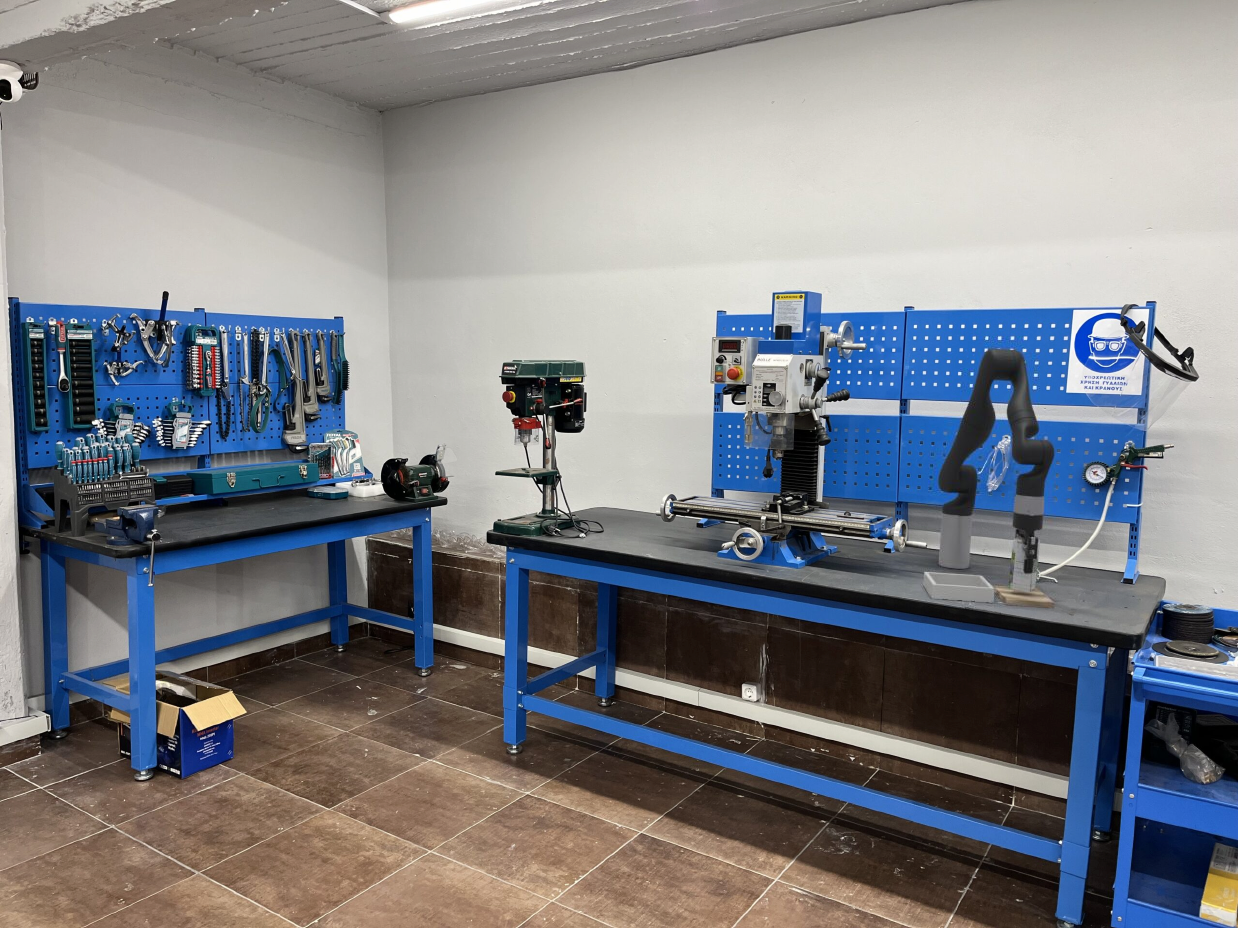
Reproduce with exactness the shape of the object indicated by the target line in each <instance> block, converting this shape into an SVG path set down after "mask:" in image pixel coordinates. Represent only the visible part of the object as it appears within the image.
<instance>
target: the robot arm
mask: <svg viewBox="0 0 1238 928" xmlns="http://www.w3.org/2000/svg"><path fill="white" fill-rule="evenodd" d="M1028 377H1029V376H1028V370H1027V364H1026V360H1025V357H1024V355H1023V353H1022V352H1021V351H1019V350H1016V349H1012V348H1011V349H1009V348H989V349H988V350H986V351H985V352H984V354H983V356H982V357H981V360H980V364H979V368H978V371H977V375H976V378H975V382H974V386H973V390H972V392H971V395H970V397H969V398H970V399H969V401H968V403H967V407H966V408H965V411H964V413H963V415H962V418H961V421H960V423H959V428H958V430H957V433H956V435H955V438H954V441H953V443H952V446H951V448H950V450H949V452H948V454H947V456H946V457H945V460H944V461H943V464H942V466H941V468H940V471H939V473H938V478H937V482H938V488H939V489H940V491H941V492H943V493H947V494H957V496H956V497H954V498H953V499H952V500H951V501H948V502H944V503H943V504H942V506H941V507H942V508H941V524H940V536H939V537H940V538H939V553H938V565H939V566H940V567H943V568H949V569H962V570H963V569H964V570H965V569H968V568H969V567H970V557H971V556H970V555H971V539H972V527H973V511H974V509H975V504H976V496H977V489H978V480H979V479H978V472H977V469H976V468H975V466H974V465H971V464H964V463H965V461H966V460H967V458H969V457H970V456H971V455H972V454H973V453H974V452H976V451H977V450H978V449H979V448H980V447H982V446H983V445H984V444H985V443H986V442H987V441H988V439H989V438H990V435H991V433H992V431H993V428H994V426H995V424H996V419H997V417H996V411H995V408H994V404H993V403H992V400H991V395H990V393H991V388H992V386H993V383H994V381H1001V382H1002V381H1004V382H1010V384H1011V385H1012V388H1013V392H1012V395H1011V397H1010V398H1009V401H1008V403H1007V407H1006V418H1007V421H1008V424H1009V427H1010V430H1011V443H1012V444H1011V456H1012V459H1013V460H1014V461H1015V463H1017V464H1019V465H1021V466H1033V468H1032V469H1031V471H1028V472H1024V473H1020V474H1018V475H1017V478H1016V488H1015V498H1014V504H1013V511H1012V512H1013V515H1012V527H1013V528H1015V535H1014V536H1015V537H1014V539H1015V538H1017V537H1018V538H1020V539H1021V541H1022V546H1021V549H1022V552H1024V568H1023V572H1024V573H1030V574H1031V573H1032V572H1033V560H1035V559H1037V549H1038V539H1039V537H1037V536H1035V532H1036V531H1041V530H1042V529H1043V525H1044V524H1043V523H1044V512H1045V500H1044V499H1045V485H1046V484H1045V483H1046V481H1047V478H1048V475H1049V472H1050V469H1051V466H1052V463H1053V461H1054V458H1055V452H1056V451H1055V447H1054V445H1053V443H1052V442H1051V441H1050V440H1047V439H1032V438H1034V437H1036V436H1037V435H1038V433H1039V431H1040V426H1039V422H1038V420H1037V419H1038V418H1037V417H1036V412H1035V411H1034V408H1033V405H1032V400H1031V394H1030V393H1031V392H1030V385H1029V384H1030V383H1029V378H1028ZM1022 539H1024V540H1022ZM1024 544H1025V545H1027V548H1025V546H1024ZM1032 545H1033V546H1032ZM1029 552H1032V554H1029Z"/></svg>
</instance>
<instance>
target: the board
mask: <svg viewBox="0 0 1238 928" xmlns="http://www.w3.org/2000/svg"><path fill="white" fill-rule="evenodd" d="M992 587H993V588H994V589H995V590H994V592H995V593H996V594H997V595H998V596H999V597H998V596H997V595H996V594H995V593H994V594H995V595H996V596H997V597H998V599H1000V600H1001V601H1002V602H1003V603H1004V604H1005V605H1006V606H1016V605H1017V607H1031V608H1032V607H1034V608H1049V609H1054V607H1055V602H1054V601H1053V600H1052V599H1050V598H1049V596H1047V595H1046V594H1045V593H1044V592H1042V591H1041V589H1039V588H1035V589H1034V590H1033V591H1031V592H1024V591H1017V590H1012V589H1009V586H1004V585H992Z"/></svg>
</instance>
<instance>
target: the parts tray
mask: <svg viewBox="0 0 1238 928" xmlns="http://www.w3.org/2000/svg"><path fill="white" fill-rule="evenodd" d="M922 584H923V587H924V589H925V590H926V592H927V593H928V595H929V596H930V598H931V599H932V600H942V599H948V600H947V601H957V600H962V601H961V602H971V601H975V602H974V603H986V602H989V603H988V604H990V603H991V604H994V601H995V600H994V599H995V593H994V590H995V589H994V588H993V585H992V584H991V583H990V582H988V580H986V578H985V577H984V576H983V575H978V574H977V575H976V574H961V573H960V574H959V573H946V572H934V571H933V572H932V571H930V572H929V571H924V572H923V583H922Z"/></svg>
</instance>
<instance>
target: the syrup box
mask: <svg viewBox="0 0 1238 928" xmlns="http://www.w3.org/2000/svg"><path fill="white" fill-rule="evenodd" d="M1022 540H1024V539H1022ZM1040 545H1041V539H1039V538H1038V549H1037V559H1035V560H1033V572H1032V573H1031V574H1030V573H1024V572H1023V568H1024V552H1022V549H1021V546H1022V541H1021V539H1020V538H1018V537H1017V538H1015V537H1014V538H1013V540H1012V549H1011V557H1010V568H1009V578H1008V579H1009V582H1008V587H1009V589H1012V590H1017V591H1024V592H1031V591H1033V590H1034V589H1035V588H1036V587H1037V576H1038V567H1039V555H1040ZM1024 546H1025V548H1027V545H1025V544H1024ZM1032 546H1033V545H1032ZM1029 554H1032V552H1029Z"/></svg>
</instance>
